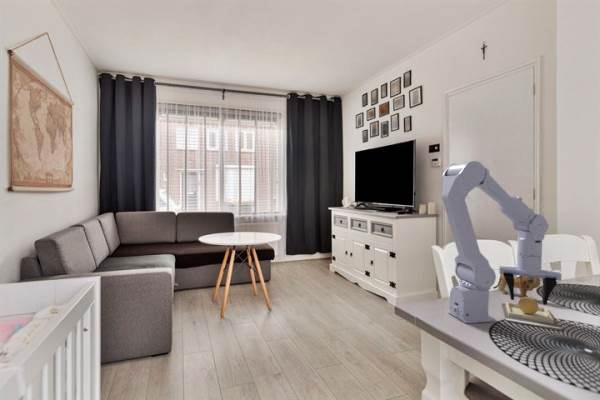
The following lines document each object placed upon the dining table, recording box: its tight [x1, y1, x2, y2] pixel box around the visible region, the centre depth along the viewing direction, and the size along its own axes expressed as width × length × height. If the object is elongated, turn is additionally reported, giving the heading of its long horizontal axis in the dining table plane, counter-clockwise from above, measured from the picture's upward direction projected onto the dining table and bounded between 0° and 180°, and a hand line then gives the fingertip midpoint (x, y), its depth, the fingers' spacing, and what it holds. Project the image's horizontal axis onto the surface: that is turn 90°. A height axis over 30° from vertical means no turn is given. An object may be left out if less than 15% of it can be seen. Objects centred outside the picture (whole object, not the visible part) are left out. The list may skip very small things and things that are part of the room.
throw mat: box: [501, 301, 563, 332], centre depth 91 cm, size 16×12×1 cm
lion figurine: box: [492, 274, 541, 299], centre depth 110 cm, size 15×5×9 cm, turn 33°
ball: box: [517, 296, 539, 314], centre depth 92 cm, size 5×5×5 cm
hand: (527, 301), depth 92 cm, fingers open, 7 cm apart
